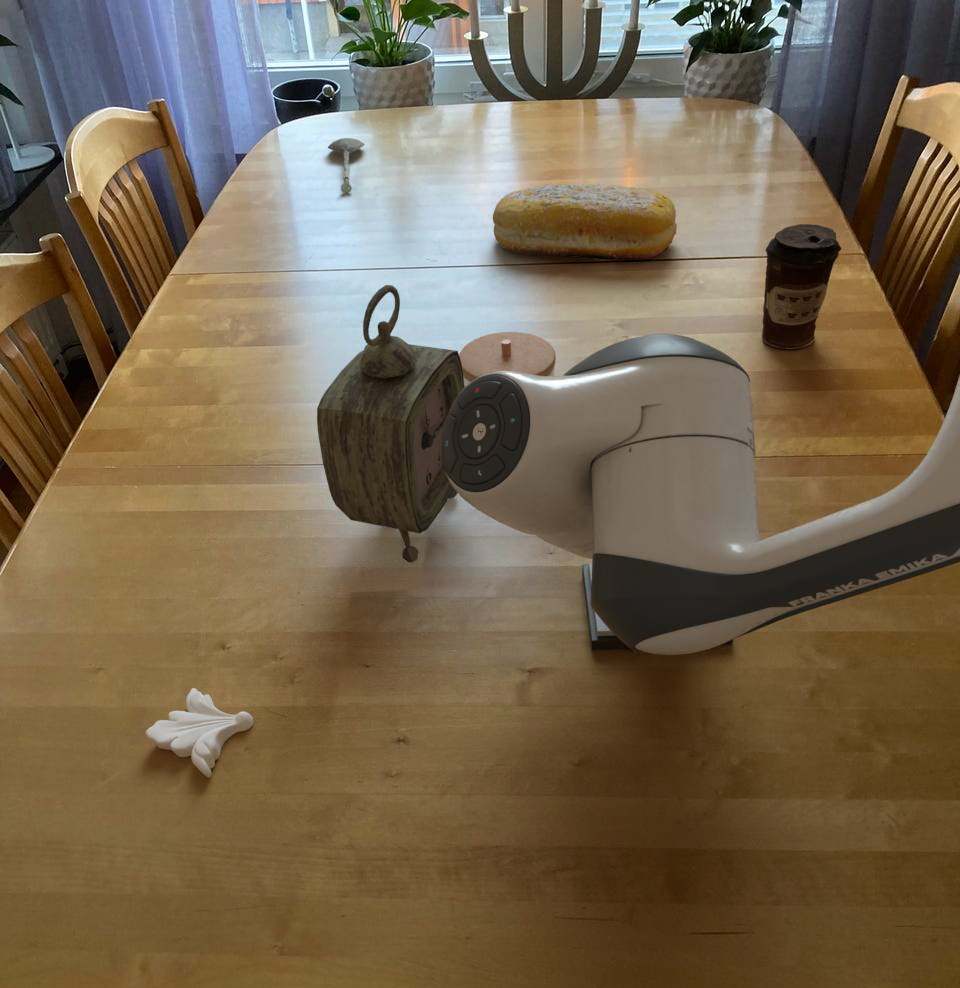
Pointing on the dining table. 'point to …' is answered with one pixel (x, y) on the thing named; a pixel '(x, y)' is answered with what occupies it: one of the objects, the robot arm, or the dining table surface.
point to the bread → (586, 221)
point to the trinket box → (507, 355)
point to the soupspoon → (346, 156)
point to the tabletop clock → (389, 430)
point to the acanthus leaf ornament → (198, 731)
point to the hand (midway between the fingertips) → (662, 532)
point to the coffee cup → (796, 283)
